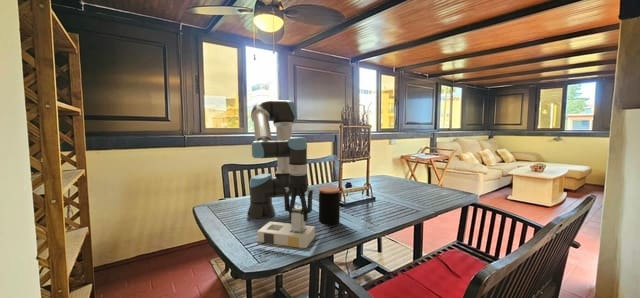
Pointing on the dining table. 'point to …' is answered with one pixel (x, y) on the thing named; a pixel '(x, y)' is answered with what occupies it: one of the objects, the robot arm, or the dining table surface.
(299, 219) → the plug
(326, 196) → the coffee jar
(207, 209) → the dining table surface
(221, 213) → the dining table surface
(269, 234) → the port box
